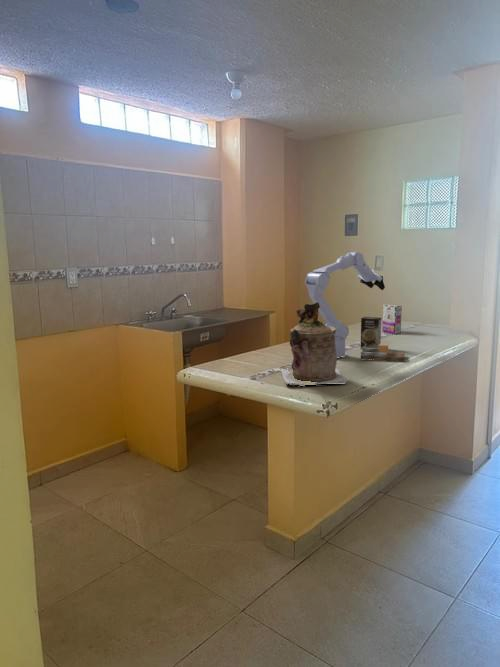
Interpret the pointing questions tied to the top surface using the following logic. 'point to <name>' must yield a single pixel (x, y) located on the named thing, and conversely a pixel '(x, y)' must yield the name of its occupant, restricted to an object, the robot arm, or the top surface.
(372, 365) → the top surface
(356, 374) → the top surface
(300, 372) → the cookie jar
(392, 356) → the trap channel
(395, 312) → the candy bar box
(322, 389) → the top surface
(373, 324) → the coffee box
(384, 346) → the block
